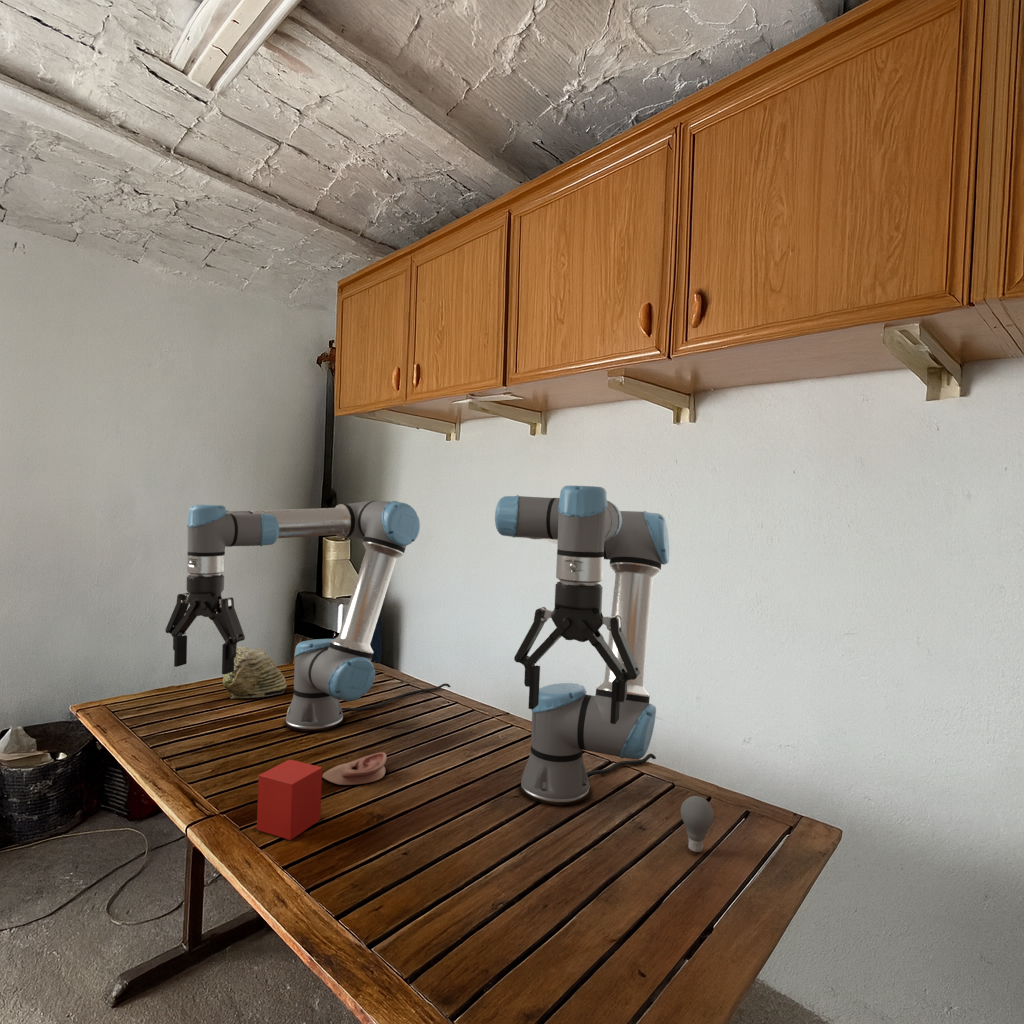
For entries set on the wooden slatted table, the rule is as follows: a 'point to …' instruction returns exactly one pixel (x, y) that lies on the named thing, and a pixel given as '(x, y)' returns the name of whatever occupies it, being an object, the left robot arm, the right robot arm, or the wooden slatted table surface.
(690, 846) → the light bulb
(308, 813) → the brick
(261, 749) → the wooden slatted table surface
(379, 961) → the wooden slatted table surface
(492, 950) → the wooden slatted table surface
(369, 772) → the anatomical model
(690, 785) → the wooden slatted table surface
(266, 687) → the fossil
